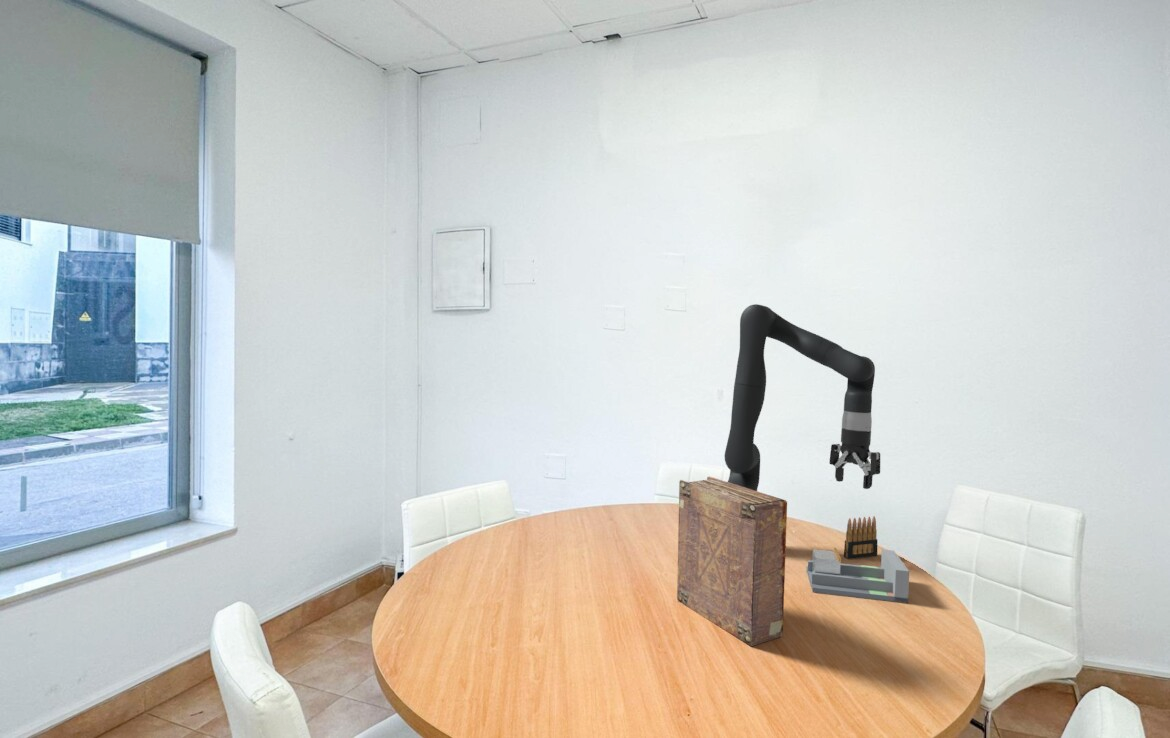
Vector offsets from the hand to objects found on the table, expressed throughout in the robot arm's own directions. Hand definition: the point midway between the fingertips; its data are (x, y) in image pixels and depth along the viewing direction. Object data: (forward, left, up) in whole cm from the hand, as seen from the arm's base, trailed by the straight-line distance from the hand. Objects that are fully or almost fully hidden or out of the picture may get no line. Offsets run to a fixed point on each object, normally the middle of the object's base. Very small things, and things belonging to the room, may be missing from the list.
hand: (852, 484), depth 163 cm
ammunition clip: (+5, +12, -24) cm, 28 cm away
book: (-33, -40, -24) cm, 57 cm away
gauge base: (-1, -12, -24) cm, 27 cm away
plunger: (-8, -12, -23) cm, 27 cm away
